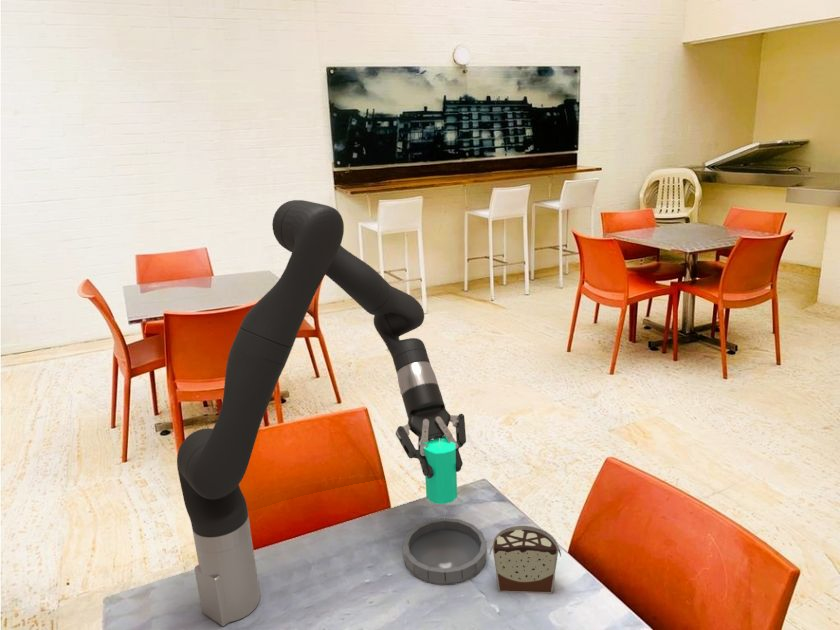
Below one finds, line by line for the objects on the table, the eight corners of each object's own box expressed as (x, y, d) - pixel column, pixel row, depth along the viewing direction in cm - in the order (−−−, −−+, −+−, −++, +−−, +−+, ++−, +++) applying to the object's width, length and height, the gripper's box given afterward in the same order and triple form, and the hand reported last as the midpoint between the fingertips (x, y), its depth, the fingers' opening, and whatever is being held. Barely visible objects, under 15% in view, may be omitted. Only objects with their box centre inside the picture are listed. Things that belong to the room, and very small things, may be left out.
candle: (441, 508, 109) (438, 449, 106) (419, 495, 113) (416, 438, 110) (464, 494, 113) (462, 437, 109) (442, 482, 117) (440, 427, 114)
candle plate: (458, 597, 106) (457, 584, 105) (387, 564, 115) (386, 551, 114) (501, 547, 118) (500, 535, 117) (434, 521, 127) (434, 509, 126)
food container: (556, 570, 111) (557, 524, 108) (560, 594, 105) (561, 546, 103) (490, 568, 113) (489, 522, 110) (490, 592, 107) (489, 544, 104)
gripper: (388, 388, 112) (411, 477, 104) (458, 375, 116) (486, 459, 109) (382, 403, 118) (404, 488, 111) (448, 390, 123) (474, 471, 115)
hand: (444, 473), depth 110 cm, fingers closed on candle, 5 cm apart
